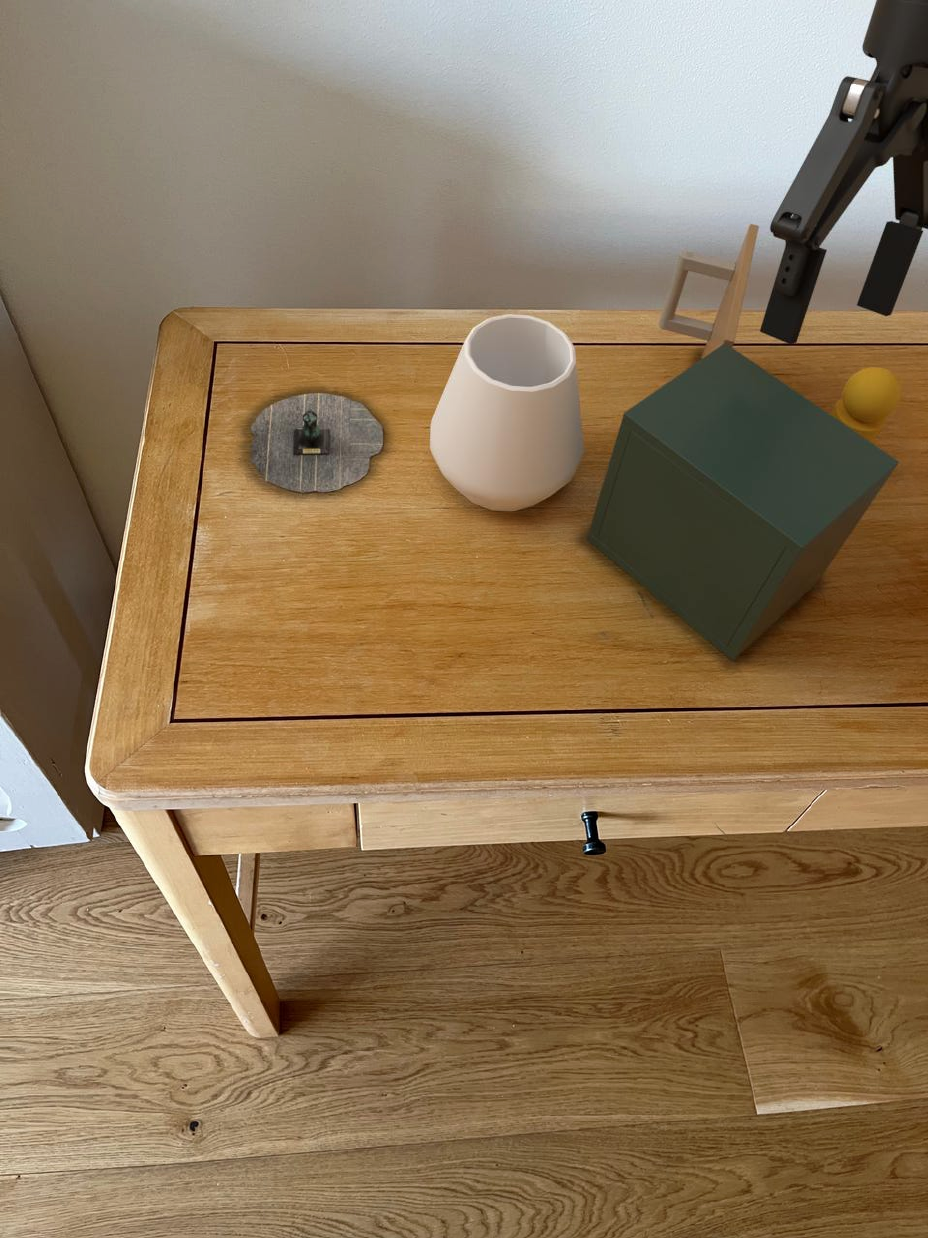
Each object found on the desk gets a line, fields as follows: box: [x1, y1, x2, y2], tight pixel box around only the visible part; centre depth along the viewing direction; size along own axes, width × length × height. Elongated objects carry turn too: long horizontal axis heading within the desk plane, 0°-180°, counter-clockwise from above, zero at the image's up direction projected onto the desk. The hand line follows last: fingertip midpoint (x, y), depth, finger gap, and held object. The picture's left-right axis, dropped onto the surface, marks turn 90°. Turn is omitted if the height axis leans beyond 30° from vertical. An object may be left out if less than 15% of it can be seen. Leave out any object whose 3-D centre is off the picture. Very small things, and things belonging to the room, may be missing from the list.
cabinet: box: [586, 343, 900, 662], centre depth 73 cm, size 12×16×15 cm
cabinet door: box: [658, 223, 760, 360], centre depth 83 cm, size 6×16×15 cm, turn 163°
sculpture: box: [249, 392, 384, 494], centre depth 84 cm, size 12×9×8 cm
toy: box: [829, 366, 902, 444], centre depth 82 cm, size 5×5×11 cm
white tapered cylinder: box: [429, 313, 585, 512], centre depth 77 cm, size 13×13×14 cm
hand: (828, 323), depth 71 cm, fingers open, 13 cm apart
